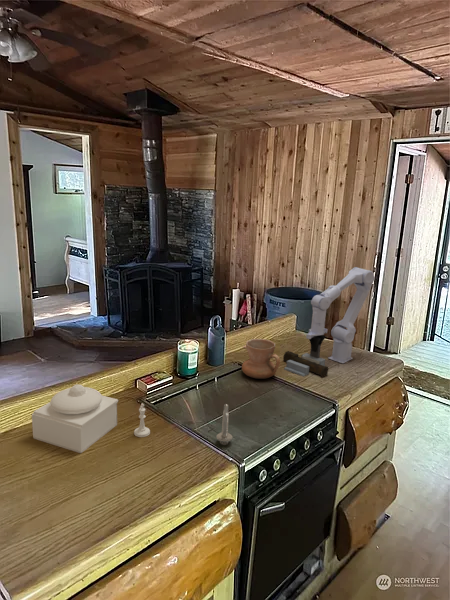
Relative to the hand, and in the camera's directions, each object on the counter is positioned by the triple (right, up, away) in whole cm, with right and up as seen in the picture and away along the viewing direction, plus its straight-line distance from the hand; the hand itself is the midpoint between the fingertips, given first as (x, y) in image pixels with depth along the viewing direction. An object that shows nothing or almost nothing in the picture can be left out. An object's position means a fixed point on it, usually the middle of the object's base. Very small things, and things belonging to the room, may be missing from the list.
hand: (315, 350), depth 198 cm
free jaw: (-1, -6, +1) cm, 6 cm away
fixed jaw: (-10, -8, -8) cm, 15 cm away
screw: (-41, -21, -65) cm, 80 cm away
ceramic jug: (-26, -9, -14) cm, 31 cm away
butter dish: (-87, -18, -63) cm, 108 cm away
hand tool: (-7, -8, -5) cm, 11 cm away
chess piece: (-67, -19, -62) cm, 93 cm away
